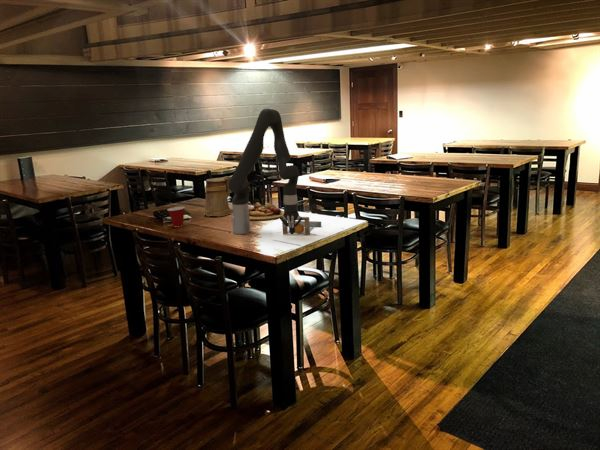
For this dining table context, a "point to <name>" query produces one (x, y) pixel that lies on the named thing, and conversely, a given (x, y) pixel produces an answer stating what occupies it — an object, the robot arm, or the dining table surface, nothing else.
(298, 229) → the ball
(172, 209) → the plastic cup
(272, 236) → the dining table surface
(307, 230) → the tan arch
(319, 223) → the wall
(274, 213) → the wooden plate with food
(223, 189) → the tankard
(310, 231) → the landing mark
